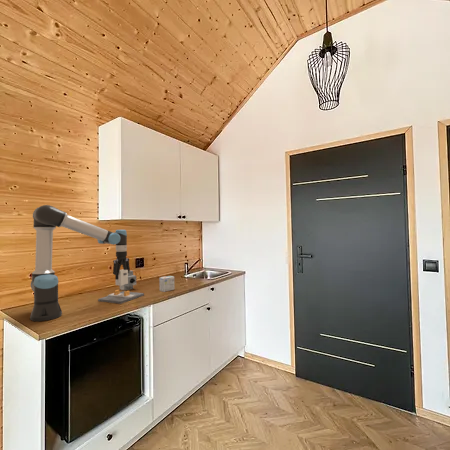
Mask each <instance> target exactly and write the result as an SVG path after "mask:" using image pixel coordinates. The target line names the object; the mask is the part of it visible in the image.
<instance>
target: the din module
mask: <svg viewBox="0 0 450 450" xmlns="http://www.w3.org/2000/svg"><path fill="white" fill-rule="evenodd" d="M119 275H120V284H116V283H115V286H119V285H125V284H128V270H124V269H120V271H119Z"/></svg>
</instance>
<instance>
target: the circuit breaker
mask: <svg viewBox="0 0 450 450" xmlns="http://www.w3.org/2000/svg"><path fill="white" fill-rule="evenodd" d="M118 286H119V290H121V291H130V290H133V289H134V286H137V275H134V271H133V270H132V269H130V271H129V273H128V284H125V285H118Z"/></svg>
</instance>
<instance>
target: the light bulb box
mask: <svg viewBox="0 0 450 450" xmlns="http://www.w3.org/2000/svg"><path fill="white" fill-rule="evenodd" d="M158 279H159V291H160V292H164V293H166V292H169V291H173V290H175V276H173V275H167V276H161V277H159V278H158Z"/></svg>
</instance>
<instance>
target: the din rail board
mask: <svg viewBox="0 0 450 450" xmlns="http://www.w3.org/2000/svg"><path fill="white" fill-rule="evenodd" d="M120 290H121V289H116V290H114V291H113V293H110V294H107V296H103V297H100V298H98V299H97V301H98V302H102V303H112V304H120V305H121V304H124V303H127V302H130V301H133V300H135V299H139V298H140V297H143V296H145V293H143V292H133V291H130V290H121V291H120Z"/></svg>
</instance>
